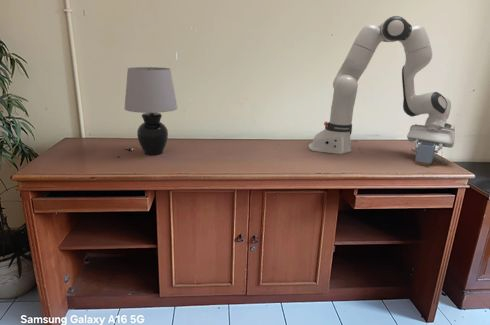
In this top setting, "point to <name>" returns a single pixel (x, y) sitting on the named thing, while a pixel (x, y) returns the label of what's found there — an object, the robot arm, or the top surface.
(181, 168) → the top surface
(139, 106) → the lamp
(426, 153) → the collar
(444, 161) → the adjustable wrench
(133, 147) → the top surface
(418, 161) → the post stand
